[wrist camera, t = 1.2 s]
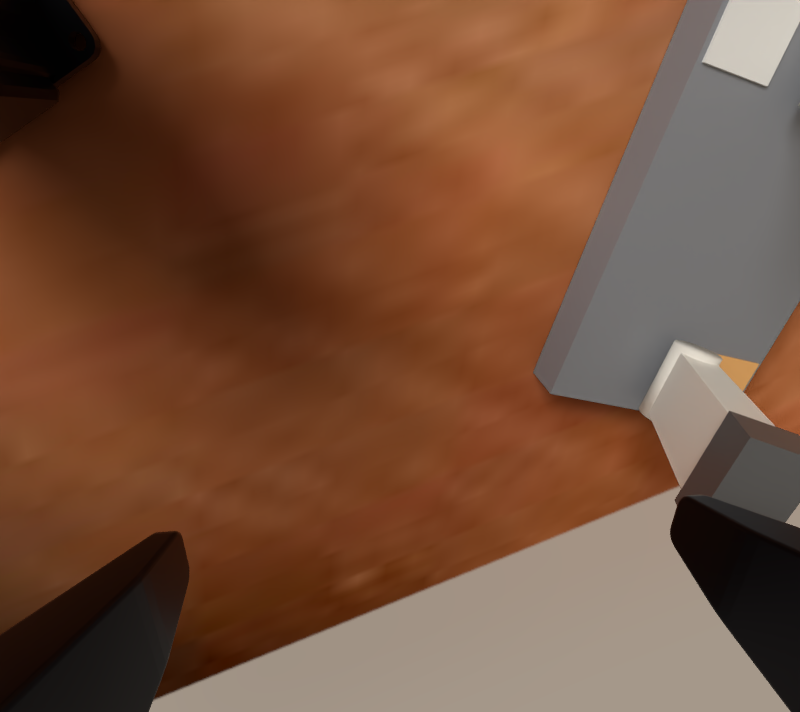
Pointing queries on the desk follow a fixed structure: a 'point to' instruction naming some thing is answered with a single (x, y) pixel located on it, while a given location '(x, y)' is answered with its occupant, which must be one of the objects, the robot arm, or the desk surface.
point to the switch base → (694, 213)
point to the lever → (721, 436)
